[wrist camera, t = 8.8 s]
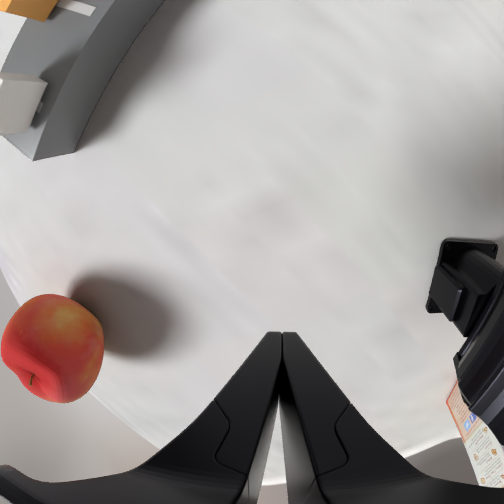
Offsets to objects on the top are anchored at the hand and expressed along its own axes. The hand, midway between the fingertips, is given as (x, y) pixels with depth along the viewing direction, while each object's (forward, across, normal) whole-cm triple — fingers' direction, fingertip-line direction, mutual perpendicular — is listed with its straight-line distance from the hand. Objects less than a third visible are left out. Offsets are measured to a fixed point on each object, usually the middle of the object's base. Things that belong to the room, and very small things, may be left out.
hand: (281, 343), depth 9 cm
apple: (+13, +19, +10) cm, 25 cm away
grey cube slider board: (+13, +14, -17) cm, 25 cm away
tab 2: (+8, +16, -10) cm, 20 cm away
